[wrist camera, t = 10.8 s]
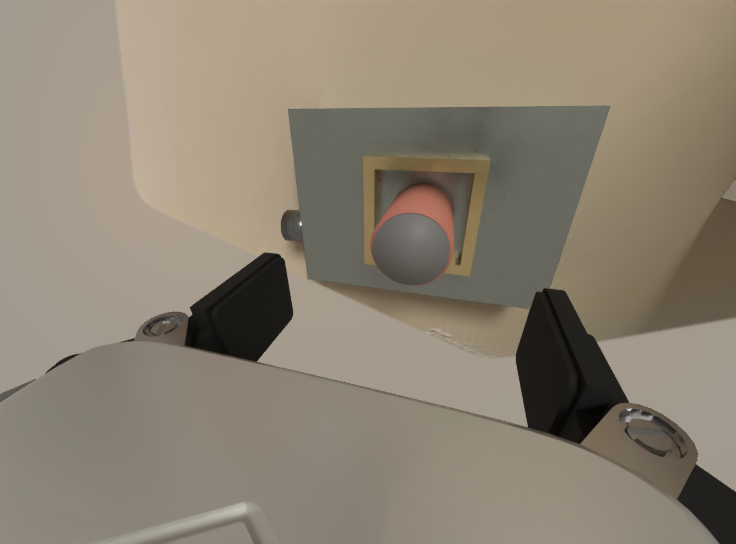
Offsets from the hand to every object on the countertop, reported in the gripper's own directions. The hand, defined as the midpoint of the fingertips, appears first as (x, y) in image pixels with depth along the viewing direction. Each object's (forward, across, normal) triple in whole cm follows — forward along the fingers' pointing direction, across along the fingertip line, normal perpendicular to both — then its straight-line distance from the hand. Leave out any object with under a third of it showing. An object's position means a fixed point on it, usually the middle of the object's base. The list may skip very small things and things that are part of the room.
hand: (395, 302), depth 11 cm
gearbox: (+19, +2, +1) cm, 19 cm away
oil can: (+13, +1, +1) cm, 13 cm away
